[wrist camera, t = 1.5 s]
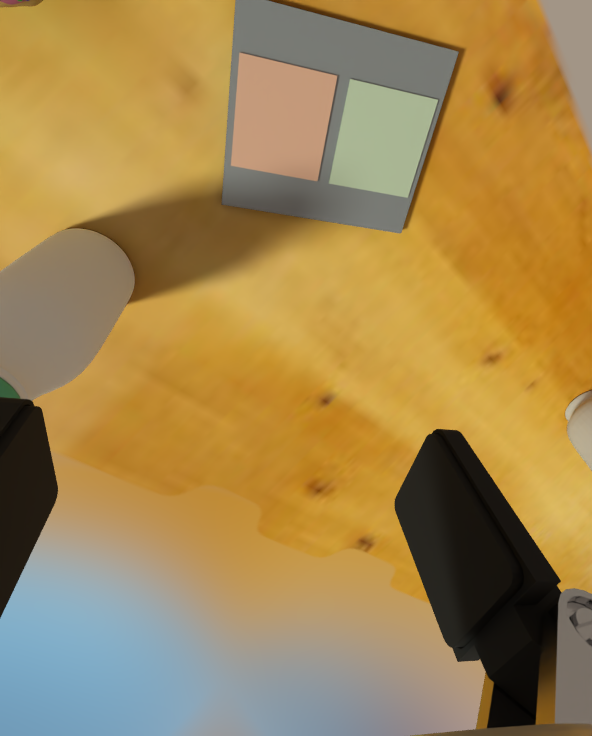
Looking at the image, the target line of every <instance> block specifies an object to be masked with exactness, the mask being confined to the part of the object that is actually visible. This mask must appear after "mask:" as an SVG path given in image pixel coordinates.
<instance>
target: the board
mask: <svg viewBox="0 0 592 736" xmlns="http://www.w3.org/2000/svg"><path fill="white" fill-rule="evenodd" d="M458 53H459V52H458V51H454V50H450V49H447V48H443V47H439V46H435V45H432V44H428V43H424V42H421V41H417V40H413V39H409V38H406V37H402V36H398V35H395V34H391V33H387V32H383V31H380V30H376V29H372V28H368V27H365V26H361V25H357V24H354V23H350V22H346V21H342V20H339V19H335V18H331V17H327V16H324V15H320V14H316V13H313V12H309V11H305V10H301V9H298V8H294V7H290V6H287V5H283V4H279V3H275V2H272V1H268V0H236V3H235V17H234V32H233V46H232V61H231V76H230V90H229V105H228V120H227V134H226V149H225V163H224V178H223V193H222V205H228V206H234V207H240V208H247V209H253V210H259V211H265V212H271V213H278V214H284V215H290V216H296V217H302V218H308V219H315V220H321V221H327V222H333V223H339V224H346V225H352V226H358V227H364V228H370V229H376V230H383V231H389V232H395V233H401V232H402V229H403V226H404V222H405V219H406V216H407V213H408V210H409V207H410V204H411V201H412V197H413V194H414V191H415V188H416V185H417V182H418V179H419V175H420V172H421V169H422V166H423V163H424V160H425V157H426V153H427V150H428V147H429V144H430V141H431V138H432V135H433V131H434V128H435V125H436V122H437V119H438V116H439V113H440V109H441V106H442V103H443V100H444V97H445V94H446V91H447V88H448V84H449V81H450V78H451V75H452V72H453V69H454V66H455V62H456V59H457V56H458Z"/></svg>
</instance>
